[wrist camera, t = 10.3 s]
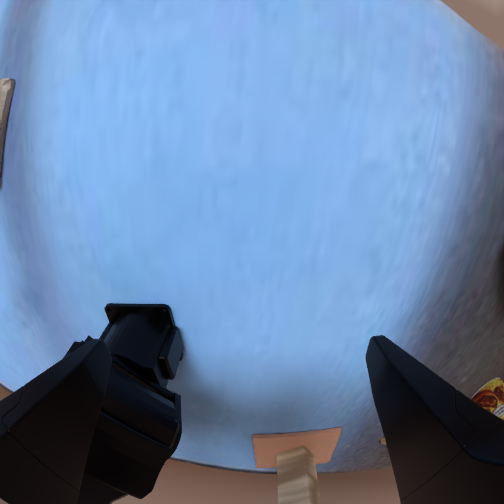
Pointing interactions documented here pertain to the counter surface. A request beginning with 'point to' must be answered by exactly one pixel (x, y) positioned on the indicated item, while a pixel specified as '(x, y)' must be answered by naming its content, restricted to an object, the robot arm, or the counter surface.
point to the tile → (295, 445)
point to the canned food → (491, 397)
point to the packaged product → (4, 109)
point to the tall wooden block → (297, 477)
